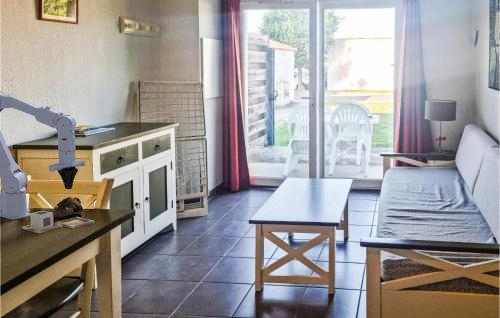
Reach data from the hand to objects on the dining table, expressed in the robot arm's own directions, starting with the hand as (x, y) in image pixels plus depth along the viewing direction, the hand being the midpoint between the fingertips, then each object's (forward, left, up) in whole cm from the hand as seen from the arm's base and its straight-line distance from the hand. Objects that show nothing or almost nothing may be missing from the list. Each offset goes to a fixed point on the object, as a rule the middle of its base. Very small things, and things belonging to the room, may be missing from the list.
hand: (68, 188), depth 220 cm
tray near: (+6, -16, -10) cm, 20 cm away
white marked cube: (+6, -16, -10) cm, 20 cm away
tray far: (+10, -6, -10) cm, 15 cm away
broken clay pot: (+1, 0, -10) cm, 10 cm away
